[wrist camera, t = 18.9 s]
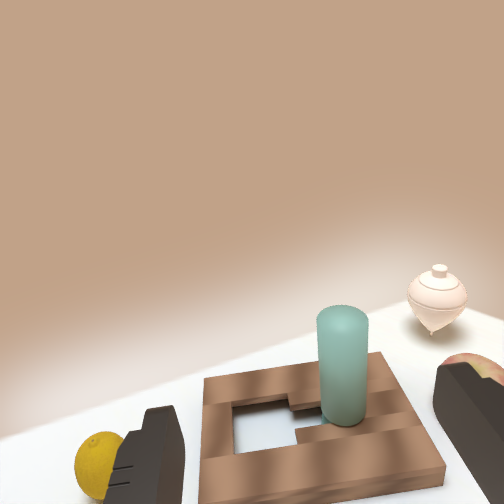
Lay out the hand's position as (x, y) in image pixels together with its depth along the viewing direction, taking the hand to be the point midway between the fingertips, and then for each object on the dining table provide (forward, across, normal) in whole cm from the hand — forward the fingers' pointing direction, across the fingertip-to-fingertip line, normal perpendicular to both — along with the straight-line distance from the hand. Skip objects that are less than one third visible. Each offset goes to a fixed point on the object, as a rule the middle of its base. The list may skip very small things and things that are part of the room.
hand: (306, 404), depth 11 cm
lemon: (+18, +19, +30) cm, 40 cm away
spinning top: (+34, -25, +30) cm, 52 cm away
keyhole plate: (+21, -3, +30) cm, 37 cm away
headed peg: (+21, -7, +30) cm, 37 cm away
